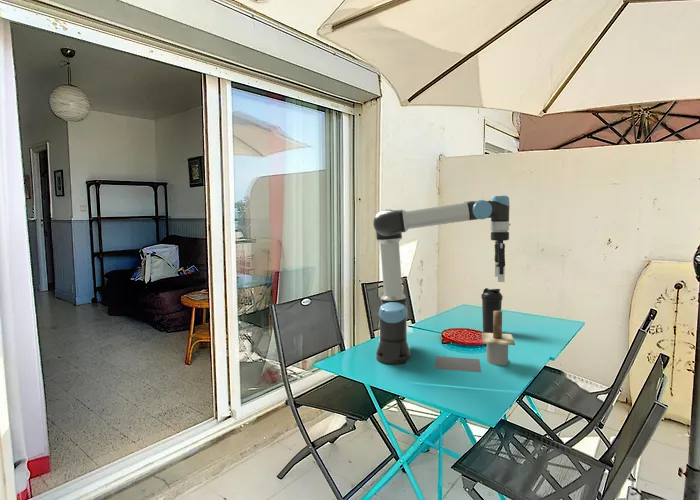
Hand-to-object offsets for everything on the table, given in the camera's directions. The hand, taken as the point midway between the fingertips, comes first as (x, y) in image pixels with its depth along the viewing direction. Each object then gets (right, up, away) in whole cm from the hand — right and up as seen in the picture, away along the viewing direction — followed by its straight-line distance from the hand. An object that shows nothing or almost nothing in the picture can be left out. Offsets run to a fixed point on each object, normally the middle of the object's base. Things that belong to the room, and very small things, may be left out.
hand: (499, 279), depth 176 cm
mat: (-22, -35, -12) cm, 43 cm away
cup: (-5, -34, -11) cm, 36 cm away
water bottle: (+7, -30, +29) cm, 43 cm away
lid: (-5, -24, -12) cm, 27 cm away
